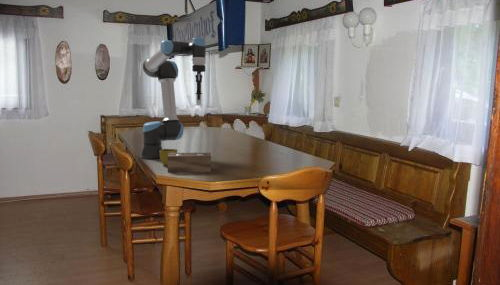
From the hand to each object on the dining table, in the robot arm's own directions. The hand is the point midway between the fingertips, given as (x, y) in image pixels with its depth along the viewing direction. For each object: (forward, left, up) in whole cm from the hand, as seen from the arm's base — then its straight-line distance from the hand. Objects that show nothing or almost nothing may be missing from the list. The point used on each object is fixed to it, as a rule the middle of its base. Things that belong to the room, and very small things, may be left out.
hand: (198, 105), depth 247 cm
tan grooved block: (+13, -5, -36) cm, 39 cm away
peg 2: (+13, +1, -36) cm, 39 cm away
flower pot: (-3, -18, -37) cm, 41 cm away
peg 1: (+13, -11, -36) cm, 40 cm away
